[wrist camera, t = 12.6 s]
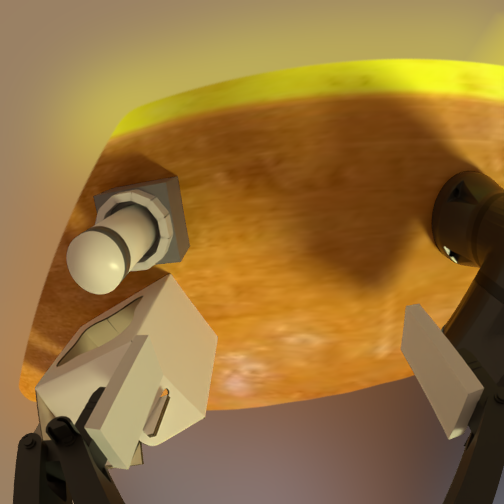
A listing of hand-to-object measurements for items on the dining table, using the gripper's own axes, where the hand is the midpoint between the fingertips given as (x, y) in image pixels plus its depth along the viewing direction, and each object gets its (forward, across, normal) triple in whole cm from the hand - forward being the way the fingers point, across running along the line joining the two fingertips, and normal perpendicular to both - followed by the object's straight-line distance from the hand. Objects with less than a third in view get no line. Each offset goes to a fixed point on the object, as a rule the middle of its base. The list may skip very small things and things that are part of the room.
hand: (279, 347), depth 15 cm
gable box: (+30, +23, +17) cm, 41 cm away
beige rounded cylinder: (+23, +16, -2) cm, 29 cm away
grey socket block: (+29, +16, -2) cm, 34 cm away
